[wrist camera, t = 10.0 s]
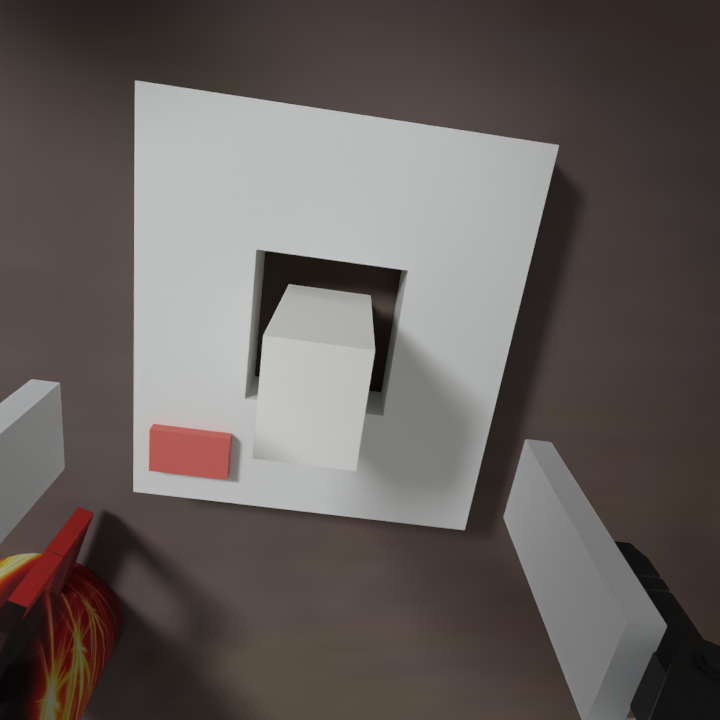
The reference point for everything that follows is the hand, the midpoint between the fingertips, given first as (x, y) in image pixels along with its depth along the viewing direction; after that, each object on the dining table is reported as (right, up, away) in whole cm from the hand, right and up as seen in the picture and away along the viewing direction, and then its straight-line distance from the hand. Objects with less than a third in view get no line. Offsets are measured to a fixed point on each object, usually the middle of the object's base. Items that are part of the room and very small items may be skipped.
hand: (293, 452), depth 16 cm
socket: (0, +5, +14) cm, 15 cm away
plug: (0, +4, +14) cm, 15 cm away
